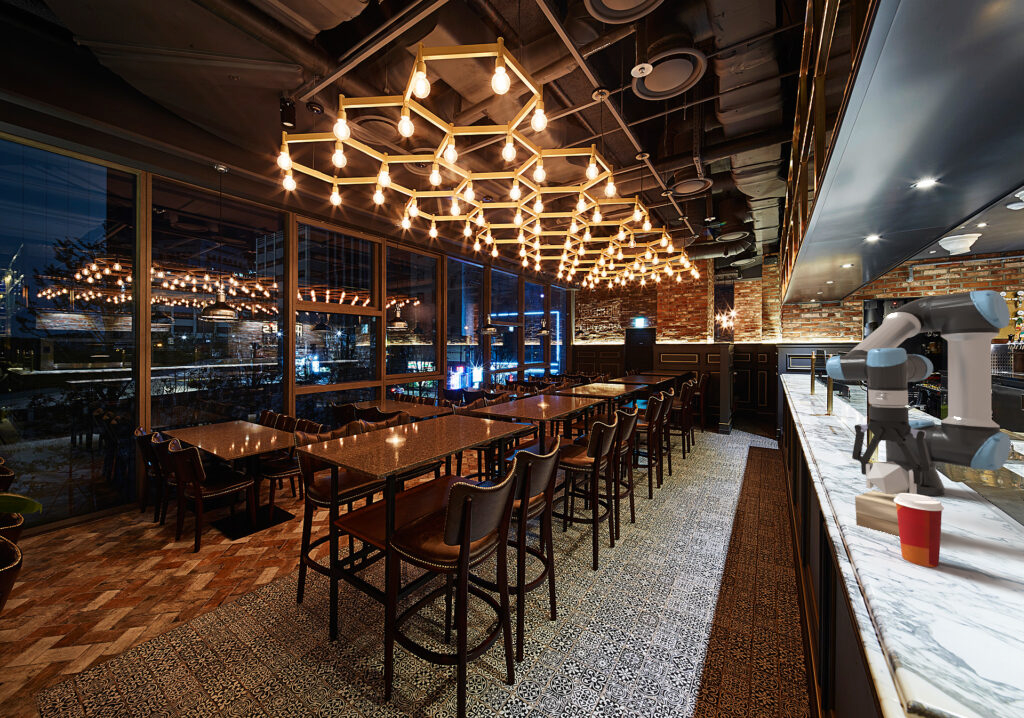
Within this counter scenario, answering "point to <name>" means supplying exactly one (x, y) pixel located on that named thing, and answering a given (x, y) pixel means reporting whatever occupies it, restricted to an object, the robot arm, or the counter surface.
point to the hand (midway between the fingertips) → (890, 491)
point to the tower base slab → (877, 524)
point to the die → (889, 477)
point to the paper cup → (919, 528)
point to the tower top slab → (877, 505)
